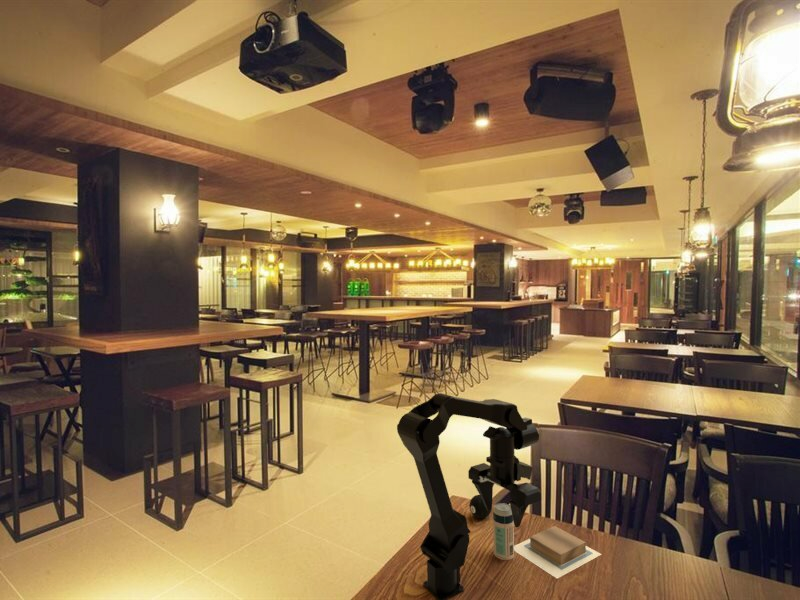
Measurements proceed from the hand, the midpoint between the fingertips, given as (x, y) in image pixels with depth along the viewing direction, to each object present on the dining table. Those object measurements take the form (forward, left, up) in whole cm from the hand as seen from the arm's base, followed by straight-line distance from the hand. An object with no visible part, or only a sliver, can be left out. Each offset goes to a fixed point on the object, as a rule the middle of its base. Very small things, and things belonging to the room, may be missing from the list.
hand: (502, 518), depth 106 cm
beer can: (0, 0, -10) cm, 10 cm away
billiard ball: (+8, +17, -10) cm, 21 cm away
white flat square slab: (+11, -6, -9) cm, 16 cm away
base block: (+12, -6, -9) cm, 16 cm away
